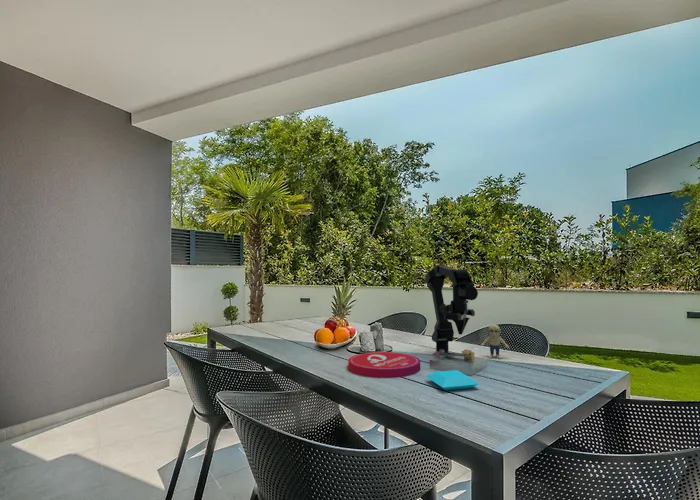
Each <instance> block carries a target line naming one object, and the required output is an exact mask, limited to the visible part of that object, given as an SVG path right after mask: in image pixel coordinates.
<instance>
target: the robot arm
mask: <svg viewBox="0 0 700 500" xmlns="http://www.w3.org/2000/svg"><path fill="white" fill-rule="evenodd" d="M447 278H448V280H449V281H450V282H451V283H452V284H451V285H450V287H451V288H452V300H450V304H445V301H444V297H443V295H444V294H443V291H442V289H443V287H444V284H445V280H446V279H447ZM424 279H425V281H424V282H425V283H426V285H427V286H426V287H427V289H428V290H429V291H430V292H431V294H432V295H431V296H432V302H433V307H434V313H435V319H436V321H435V324H434V329H433V332H432V334H431V342H434V343H435V348H436V349H435V351H439V352H440V350H439V349H443V350H444V352H449V351H450V350H449V347H450V346H449V342H453V340H454V335H455V332H454V328H453V322H454V324H455V326H456V330H457V333H458V335H463V333H464V331H465V328H466V327H467V324H468V322H469V320H470V317H475V316H476V315H475V314H476V311H475V310H474V308H473V309H472V308H468V304H469V301H474V300H477V297H478V295H479V292H478V289H477V288H476V287H475V286H474V283H473V279H472V278H471V276H470V274H469V272H468V270H467V269H465V268H463V269H462V268H461V269H460V268H459V269H458V268H457V269H455V268H452V267H449V266H446V265H445V264H440V265H439V264H436V265H435V266H434V267H433V268H432V269H431V270H429V271H428V272H427V274H426V275H425V278H424ZM467 316H470V317H467ZM433 355H435V352H433Z"/></svg>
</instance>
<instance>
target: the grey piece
mask: <svg viewBox="0 0 700 500" xmlns="http://www.w3.org/2000/svg"><path fill="white" fill-rule="evenodd" d="M439 350H440V351H442V352H444V350H443V349H439ZM434 353H435V354H434V357H433V358H431V359H429V369H432V370H439V371H452V370H457V371H459V372H461V373H463V374H465V375H467V376H475V375H476V374H477V373H479V372H481V371H482V370H484V369H486V368H488V359H487V358H488V357H487V358H485V357H479V356H474V360H468V359H464V356H448V355H440V352H439V351H436V350H435V351H434Z"/></svg>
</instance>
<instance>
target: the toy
mask: <svg viewBox="0 0 700 500" xmlns="http://www.w3.org/2000/svg"><path fill="white" fill-rule="evenodd" d="M487 330H488V333H489V336H487V338H485V339H484V341H483V342H482V343H481V344H480V347H482V346H485V344H486V343H489V353H490V354H489V356H487V358H488V359H492V358H494V354H495V356H496V358H497V359H498V360H500V359H501V360H502V357H501V356H500V345H501V344H503V345H505V346H504V347H505V348H506V347H507V348H508V349H510V346H509V344H508V343H506V341H505V340H504V339H503V338H502V337H501V336H500V334H501V328H500V326H499V325H498V324H495V323H492V324H490V325H489V326H488V329H487Z"/></svg>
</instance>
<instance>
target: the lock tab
mask: <svg viewBox="0 0 700 500" xmlns="http://www.w3.org/2000/svg"><path fill="white" fill-rule="evenodd" d="M461 353H462V354H467V355H468V354H469V356H467V357H464V359H468V360H474V357H475V352H474V351H472V349H464V350H462V351H461Z"/></svg>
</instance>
